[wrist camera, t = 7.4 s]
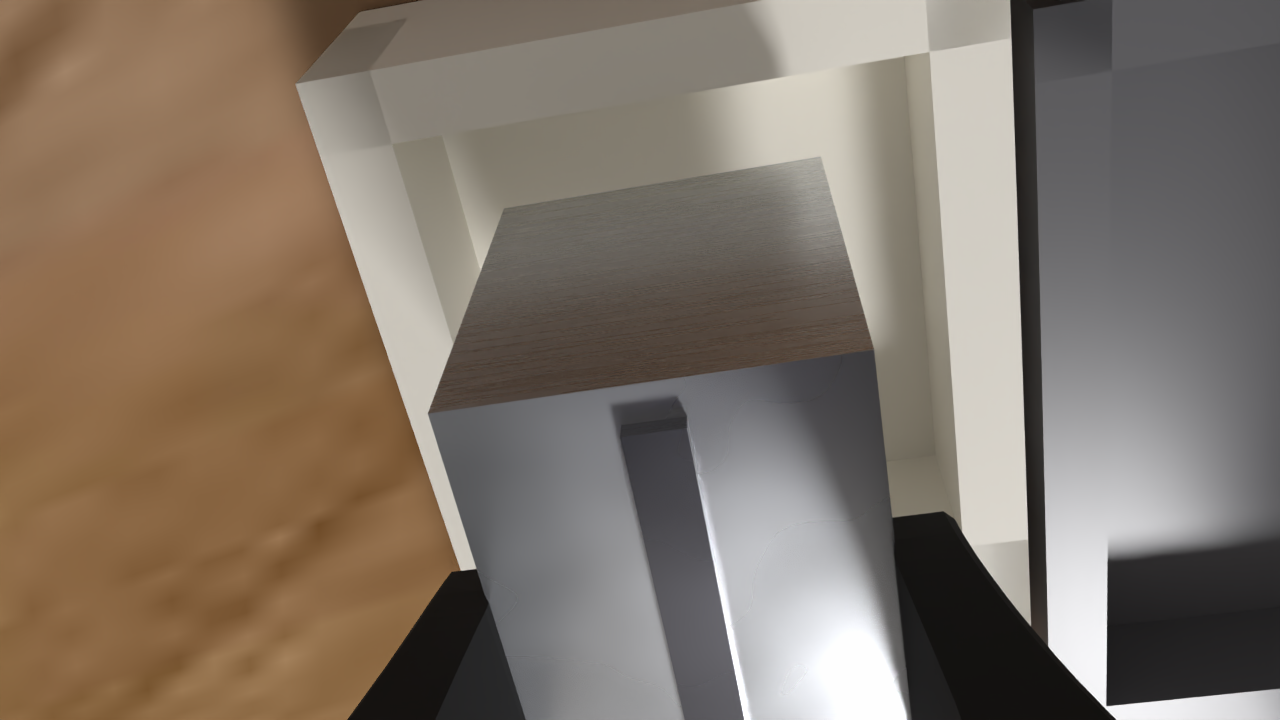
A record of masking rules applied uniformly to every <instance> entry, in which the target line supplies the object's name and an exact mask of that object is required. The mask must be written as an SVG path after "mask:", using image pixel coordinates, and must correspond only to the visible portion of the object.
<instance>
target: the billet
mask: <svg viewBox="0 0 1280 720" xmlns="http://www.w3.org/2000/svg"><path fill="white" fill-rule="evenodd" d="M428 416H429V419H430V422H431V426H432V429H433V432H434V435H435V438H436V441H437V445H438V448H439V451H440V454H441V457H442V461H443V464H444V467H445V470H446V473H447V476H448V480H449V483H450V486H451V489H452V492H453V496H454V499H455V502H456V505H457V508H458V511H459V515H460V518H461V521H462V524H463V527H464V531H465V534H466V537H467V540H468V543H469V546H470V550H471V553H472V556H473V559H474V562H475V566H476V569H477V572H478V575H479V578H480V581H481V585H482V588H483V591H484V594H485V597H486V600H487V602H489V604H490V607H491V610H492V614H493V617H494V620H495V623H496V626H497V630H498V633H499V636H500V639H501V642H502V645H503V649H504V652H505V655H506V658H507V661H508V665H509V668H510V671H511V674H512V677H513V681H514V684H515V687H516V690H517V693H518V697H519V700H520V703H521V706H522V709H523V713H524V716H525V719H526V720H912V717H911V707H910V698H909V689H908V680H907V671H906V661H905V652H904V643H903V634H902V625H901V616H900V606H899V597H898V588H897V579H896V570H895V561H894V553H896V547H895V538H894V529H893V520H892V510H891V501H890V492H889V483H888V473H887V464H886V455H885V445H884V436H883V427H882V418H881V408H880V399H879V390H878V381H877V371H876V362H875V353H874V347H873V344H872V340H871V336H870V333H869V329H868V326H867V322H866V318H865V315H864V311H863V307H862V304H861V300H860V297H859V293H858V289H857V286H856V282H855V278H854V275H853V271H852V268H851V264H850V260H849V257H848V253H847V249H846V246H845V242H844V239H843V235H842V231H841V228H840V224H839V221H838V217H837V213H836V210H835V206H834V202H833V199H832V195H831V192H830V188H829V184H828V181H827V177H826V173H825V170H824V166H823V163H822V159H821V157H815V158H809V159H802V160H796V161H790V162H784V163H778V164H772V165H766V166H760V167H754V168H747V169H741V170H735V171H729V172H723V173H717V174H711V175H705V176H698V177H692V178H686V179H680V180H674V181H668V182H662V183H656V184H650V185H643V186H637V187H631V188H625V189H619V190H613V191H607V192H601V193H594V194H588V195H582V196H576V197H570V198H564V199H558V200H552V201H546V202H539V203H533V204H527V205H521V206H515V207H509V208H504V210H503V212H502V215H501V218H500V221H499V223H498V226H497V229H496V231H495V234H494V237H493V239H492V242H491V245H490V247H489V250H488V253H487V256H486V258H485V261H484V264H483V266H482V269H481V272H480V274H479V277H478V280H477V282H476V285H475V288H474V291H473V293H472V296H471V299H470V301H469V304H468V307H467V309H466V312H465V315H464V317H463V320H462V323H461V326H460V328H459V331H458V334H457V336H456V339H455V342H454V344H453V347H452V350H451V352H450V355H449V358H448V360H447V363H446V366H445V369H444V371H443V374H442V377H441V379H440V382H439V385H438V387H437V390H436V393H435V395H434V398H433V401H432V404H431V406H430V409H429V412H428Z"/></svg>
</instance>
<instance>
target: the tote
mask: <svg viewBox="0 0 1280 720" xmlns="http://www.w3.org/2000/svg"><path fill="white" fill-rule="evenodd" d="M1010 12H1011V42H1012V72H1013V102H1014V132H1015V161H1016V191H1017V221H1018V251H1019V281H1020V311H1021V341H1022V370H1023V400H1024V430H1025V460H1026V490H1027V520H1028V550H1029V580H1030V609H1031V627H1032V628H1033V629H1034V630H1035V632H1036V633H1037V634H1038V635H1039V636H1040V638H1041V639H1042V640H1043V641H1044V642H1045V643H1046V645H1047V646H1048V647H1049V648H1050V649H1051V651H1052V652H1053V653H1054V654H1055V655H1056V656H1057V658H1058V659H1059V660H1060V661H1061V662H1062V663H1063V664H1064V665H1065V666H1066V667H1067V669H1068V670H1069V671H1070V672H1071V673H1072V674H1073V675H1074V676H1075V677H1076V679H1077V680H1078V681H1079V682H1080V683H1081V684H1082V685H1083V686H1084V687H1085V688H1086V689H1087V690H1088V691H1089V692H1090V693H1091V694H1092V695H1093V696H1094V697H1095V698H1096V699H1097V700H1098V701H1099V702H1100V704H1101V705H1102V706H1103V707H1104V708H1105V709H1106V710H1107V711H1108V712H1109V713H1110V714H1111V715H1112V716H1113V717H1114V718H1115V719H1116V720H1280V0H1010Z"/></svg>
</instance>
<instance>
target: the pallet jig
mask: <svg viewBox="0 0 1280 720" xmlns="http://www.w3.org/2000/svg"><path fill="white" fill-rule="evenodd" d="M296 87H297V90H298V93H299V96H300V99H301V102H302V105H303V108H304V111H305V114H306V117H307V119H308V122H309V125H310V128H311V131H312V134H313V137H314V140H315V143H316V146H317V149H318V152H319V155H320V158H321V161H322V164H323V167H324V169H325V172H326V175H327V178H328V181H329V184H330V187H331V190H332V193H333V196H334V199H335V202H336V205H337V208H338V211H339V214H340V216H341V219H342V222H343V225H344V228H345V231H346V234H347V237H348V240H349V243H350V246H351V249H352V252H353V255H354V258H355V261H356V264H357V266H358V269H359V272H360V275H361V278H362V281H363V284H364V287H365V290H366V293H367V296H368V299H369V302H370V305H371V308H372V311H373V314H374V316H375V319H376V322H377V325H378V328H379V331H380V334H381V337H382V340H383V343H384V346H385V349H386V352H387V355H388V358H389V361H390V364H391V366H392V369H393V372H394V375H395V378H396V381H397V384H398V387H399V390H400V393H401V396H402V399H403V402H404V405H405V408H406V411H407V414H408V416H409V419H410V422H411V425H412V428H413V431H414V434H415V437H416V440H417V443H418V446H419V449H420V452H421V455H422V458H423V461H424V463H425V466H426V469H427V472H428V475H429V478H430V481H431V484H432V487H433V490H434V493H435V496H436V499H437V502H438V505H439V508H440V511H441V513H442V516H443V519H444V522H445V525H446V528H447V531H448V534H449V537H450V540H451V543H452V546H453V549H454V552H455V555H456V558H457V561H458V563H459V566H460V569H461V571H464V570H472V569H476V566H475V562H474V559H473V556H472V553H471V550H470V546H469V543H468V540H467V537H466V534H465V531H464V527H463V524H462V521H461V518H460V515H459V511H458V508H457V505H456V502H455V499H454V496H453V492H452V489H451V486H450V483H449V480H448V476H447V473H446V470H445V467H444V464H443V461H442V457H441V454H440V451H439V448H438V445H437V441H436V438H435V435H434V432H433V429H432V426H431V422H430V419H429V416H428V412H429V409H430V406H431V404H432V401H433V398H434V395H435V393H436V390H437V387H438V385H439V382H440V379H441V377H442V374H443V371H444V369H445V366H446V363H447V360H448V358H449V355H450V352H451V350H452V347H453V344H454V342H455V339H456V336H457V334H458V331H459V328H460V326H461V323H462V320H463V317H464V315H465V312H466V309H467V307H468V304H469V301H470V299H471V296H472V293H473V291H474V288H475V285H476V282H477V280H478V277H479V274H480V272H481V269H482V266H483V264H484V261H485V258H486V256H487V253H488V250H489V247H490V245H491V242H492V239H493V237H494V234H495V231H496V229H497V226H498V223H499V221H500V218H501V215H502V212H503V210H504V208H509V207H515V206H521V205H527V204H533V203H539V202H546V201H552V200H558V199H564V198H570V197H576V196H582V195H588V194H594V193H601V192H607V191H613V190H619V189H625V188H631V187H637V186H643V185H650V184H656V183H662V182H668V181H674V180H680V179H686V178H692V177H698V176H705V175H711V174H717V173H723V172H729V171H735V170H741V169H747V168H754V167H760V166H766V165H772V164H778V163H784V162H790V161H796V160H802V159H809V158H815V157H821V159H822V163H823V166H824V170H825V173H826V177H827V181H828V184H829V188H830V192H831V195H832V199H833V202H834V206H835V210H836V213H837V217H838V221H839V224H840V228H841V231H842V235H843V239H844V242H845V246H846V249H847V253H848V257H849V260H850V264H851V268H852V271H853V275H854V278H855V282H856V286H857V289H858V293H859V297H860V300H861V304H862V307H863V311H864V315H865V318H866V322H867V326H868V329H869V333H870V336H871V340H872V344H873V347H874V353H875V362H876V371H877V381H878V390H879V399H880V408H881V418H882V427H883V436H884V445H885V455H886V464H887V473H888V483H889V492H890V501H891V510H892V518H893V517H901V516H909V515H917V514H925V513H933V512H941V511H944V512H945V513H947V514H948V515H950V516H951V517H953V518H954V519H955V520H956V522H957V524H958V526H959V528H960V529H961V531H962V533H963V534H964V536H965V538H966V539H967V541H968V542H969V544H970V546H971V547H972V549H973V550H974V552H975V553H976V555H977V556H978V558H979V559H980V561H981V562H982V563H983V565H984V566H985V568H986V569H987V571H988V572H989V573H990V575H991V576H992V577H993V579H994V580H995V581H996V583H997V584H998V585H999V587H1000V588H1001V589H1002V591H1003V592H1004V593H1005V595H1006V596H1007V597H1008V599H1009V600H1010V601H1011V602H1012V604H1013V605H1014V606H1015V608H1016V609H1017V610H1018V611H1019V613H1020V614H1021V615H1022V616H1023V617H1024V619H1025V620H1026V621H1027V622H1028V623H1029V625H1030V626H1031V609H1030V580H1029V550H1028V520H1027V490H1026V460H1025V430H1024V400H1023V370H1022V341H1021V311H1020V281H1019V251H1018V221H1017V191H1016V161H1015V132H1014V102H1013V72H1012V42H1011V12H1010V0H421V1H416V2H411V3H405V4H400V5H395V6H389V7H384V8H378V9H373V10H368V11H362V12H359V13H358V14H357V15H356V16H355V18H354V19H353V20H352V21H351V22H350V23H349V24H348V25H347V27H346V28H345V29H344V30H343V31H342V32H341V33H340V34H339V36H338V37H337V38H336V39H335V40H334V41H333V42H332V43H331V45H330V46H329V47H328V48H327V49H326V50H325V51H324V52H323V54H322V55H321V56H320V57H319V58H318V59H317V60H316V61H315V62H314V64H313V65H312V66H311V67H310V68H309V69H308V70H307V71H306V73H305V74H304V75H303V76H302V77H301V78H300V79H299V80H298V82H297V83H296Z"/></svg>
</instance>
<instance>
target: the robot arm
mask: <svg viewBox="0 0 1280 720" xmlns="http://www.w3.org/2000/svg"><path fill="white" fill-rule="evenodd" d="M892 520H893V529H894V538H895V547H896V553H894V561H895V570H896V579H897V588H898V597H899V606H900V616H901V625H902V634H903V643H904V652H905V661H906V671H907V680H908V689H909V698H910V707H911V717H912V720H1116V719H1115V718H1114V717H1113V716H1112V715H1111V714H1110V713H1109V712H1108V711H1107V710H1106V709H1105V708H1104V707H1103V706H1102V705H1101V704H1100V702H1099V701H1098V700H1097V699H1096V698H1095V697H1094V696H1093V695H1092V694H1091V693H1090V692H1089V691H1088V690H1087V689H1086V688H1085V687H1084V686H1083V685H1082V684H1081V683H1080V682H1079V681H1078V680H1077V679H1076V677H1075V676H1074V675H1073V674H1072V673H1071V672H1070V671H1069V670H1068V669H1067V667H1066V666H1065V665H1064V664H1063V663H1062V662H1061V661H1060V660H1059V659H1058V658H1057V656H1056V655H1055V654H1054V653H1053V652H1052V651H1051V649H1050V648H1049V647H1048V646H1047V645H1046V643H1045V642H1044V641H1043V640H1042V639H1041V638H1040V636H1039V635H1038V634H1037V633H1036V632H1035V630H1034V629H1033V628H1032V627H1031V626H1030V625H1029V623H1028V622H1027V621H1026V620H1025V619H1024V617H1023V616H1022V615H1021V614H1020V613H1019V611H1018V610H1017V609H1016V608H1015V606H1014V605H1013V604H1012V602H1011V601H1010V600H1009V599H1008V597H1007V596H1006V595H1005V593H1004V592H1003V591H1002V589H1001V588H1000V587H999V585H998V584H997V583H996V581H995V580H994V579H993V577H992V576H991V575H990V573H989V572H988V571H987V569H986V568H985V566H984V565H983V563H982V562H981V561H980V559H979V558H978V556H977V555H976V553H975V552H974V550H973V549H972V547H971V546H970V544H969V542H968V541H967V539H966V538H965V536H964V534H963V533H962V531H961V529H960V528H959V526H958V524H957V522H956V520H955V519H954V518H953V517H951V516H950V515H948V514H947V513H945V512H944V511H941V512H933V513H925V514H917V515H909V516H901V517H893V518H892ZM347 720H526V719H525V716H524V713H523V709H522V706H521V703H520V700H519V697H518V693H517V690H516V687H515V684H514V681H513V677H512V674H511V671H510V668H509V665H508V661H507V658H506V655H505V652H504V649H503V645H502V642H501V639H500V636H499V633H498V630H497V626H496V623H495V620H494V617H493V614H492V610H491V607H490V604H489V602H487V600H486V597H485V594H484V591H483V588H482V585H481V581H480V578H479V575H478V572H477V569H472V570H464V571H456V572H451V574H450V575H449V576H448V577H447V579H446V580H445V581H444V583H443V584H442V586H441V587H440V588H439V590H438V591H437V593H436V594H435V596H434V597H433V598H432V600H431V601H430V603H429V604H428V606H427V607H426V609H425V610H424V612H423V613H422V615H421V616H420V618H419V619H418V621H417V622H416V624H415V625H414V626H413V628H412V629H411V631H410V632H409V634H408V635H407V637H406V638H405V640H404V641H403V643H402V644H401V645H400V647H399V648H398V650H397V651H396V653H395V654H394V656H393V657H392V658H391V660H390V661H389V663H388V664H387V666H386V667H385V669H384V670H383V671H382V673H381V674H380V675H379V677H378V678H377V680H376V681H375V682H374V684H373V685H372V687H371V688H370V689H369V691H368V692H367V693H366V695H365V696H364V698H363V699H362V700H361V702H360V703H359V704H358V706H357V707H356V709H355V710H354V711H353V713H352V714H351V715H350V717H349V718H348V719H347Z"/></svg>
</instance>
